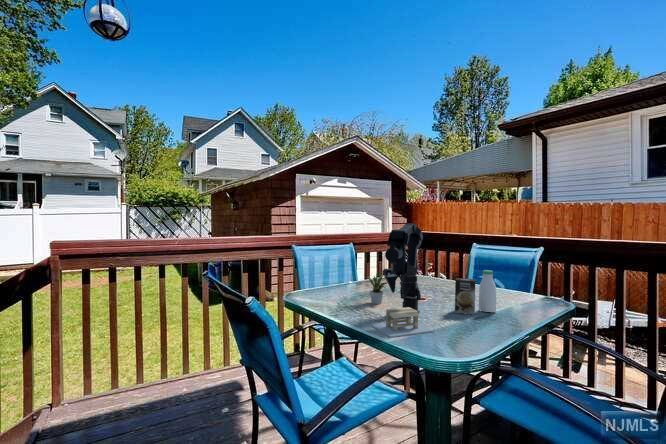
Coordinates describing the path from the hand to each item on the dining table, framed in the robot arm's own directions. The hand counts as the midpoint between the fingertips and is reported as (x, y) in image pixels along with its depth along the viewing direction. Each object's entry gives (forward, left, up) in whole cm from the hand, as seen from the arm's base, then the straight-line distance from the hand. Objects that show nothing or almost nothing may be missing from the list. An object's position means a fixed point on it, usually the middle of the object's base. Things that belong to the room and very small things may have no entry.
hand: (399, 294), depth 147 cm
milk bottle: (-51, -1, -12) cm, 52 cm away
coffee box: (-39, -3, -12) cm, 41 cm away
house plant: (-6, -33, -12) cm, 36 cm away
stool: (+3, +8, -11) cm, 14 cm away
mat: (+3, +8, -12) cm, 15 cm away
